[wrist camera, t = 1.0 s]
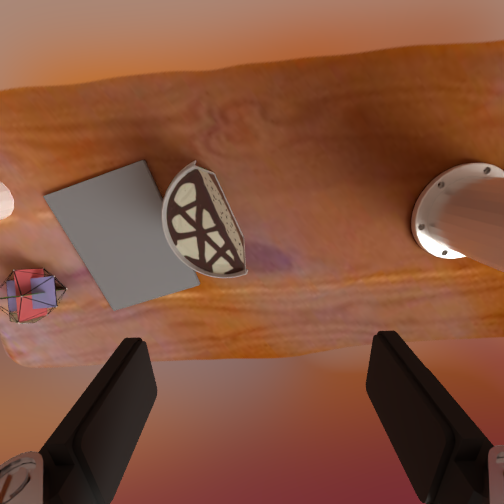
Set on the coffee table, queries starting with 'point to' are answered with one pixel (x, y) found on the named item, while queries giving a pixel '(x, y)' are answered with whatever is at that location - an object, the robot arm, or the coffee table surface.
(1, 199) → the shot glass
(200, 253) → the food container
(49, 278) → the geometric puzzle
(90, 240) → the mat
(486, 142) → the coffee table surface
